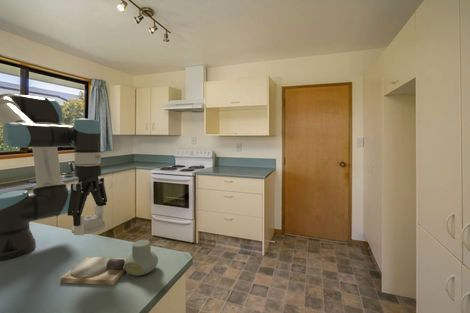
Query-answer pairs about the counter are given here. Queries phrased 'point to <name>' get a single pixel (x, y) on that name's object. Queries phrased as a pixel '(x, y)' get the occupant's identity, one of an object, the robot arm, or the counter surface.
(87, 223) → the mechanical component
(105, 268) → the flange board
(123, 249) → the counter surface
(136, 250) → the grey rounded piece
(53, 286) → the counter surface
